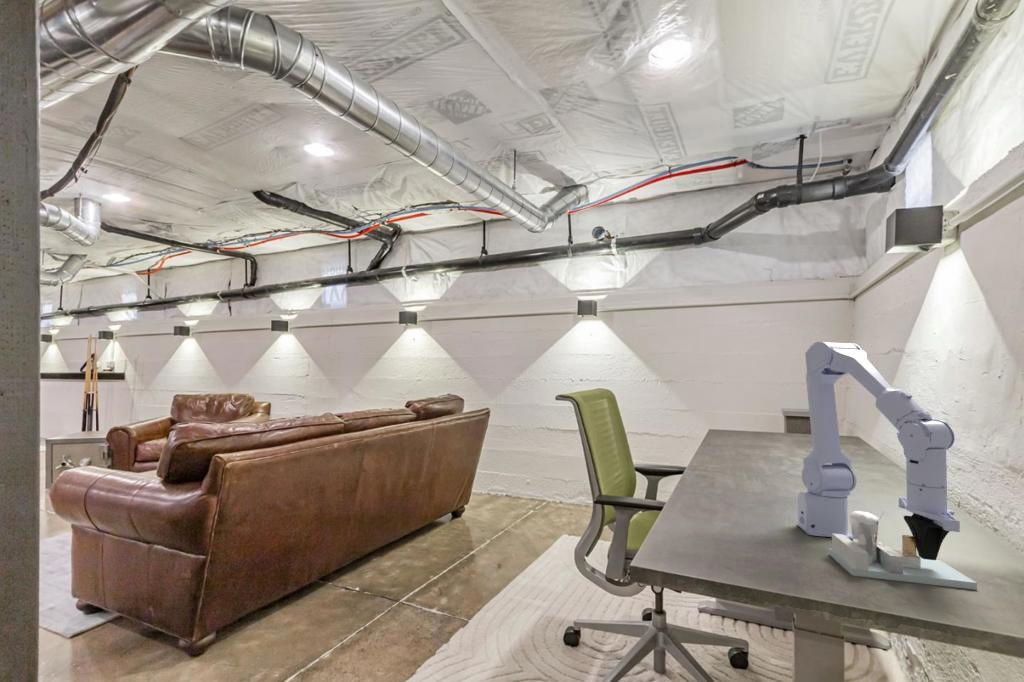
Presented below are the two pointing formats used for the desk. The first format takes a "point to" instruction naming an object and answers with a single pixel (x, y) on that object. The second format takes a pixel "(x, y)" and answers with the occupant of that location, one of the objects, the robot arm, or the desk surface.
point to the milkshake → (865, 532)
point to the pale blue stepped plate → (929, 573)
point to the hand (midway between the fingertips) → (927, 558)
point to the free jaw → (898, 556)
